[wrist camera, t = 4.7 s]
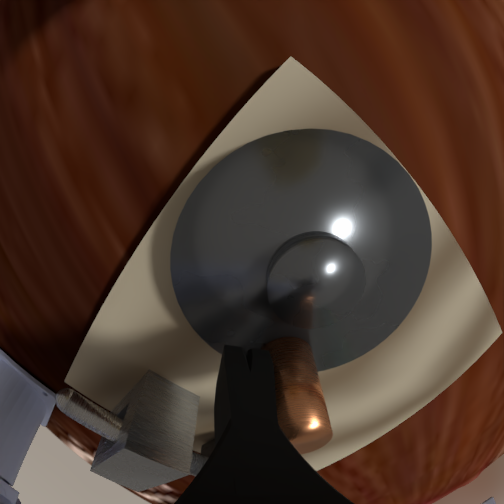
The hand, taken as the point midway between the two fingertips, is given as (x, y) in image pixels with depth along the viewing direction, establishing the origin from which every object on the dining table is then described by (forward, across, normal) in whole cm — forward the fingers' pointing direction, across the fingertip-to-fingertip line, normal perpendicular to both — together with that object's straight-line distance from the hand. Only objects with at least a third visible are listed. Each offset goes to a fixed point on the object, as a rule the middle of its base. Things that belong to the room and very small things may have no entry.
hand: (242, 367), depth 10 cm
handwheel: (+2, -2, -4) cm, 4 cm away
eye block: (+3, +4, +7) cm, 9 cm away
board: (+3, -4, +3) cm, 6 cm away
